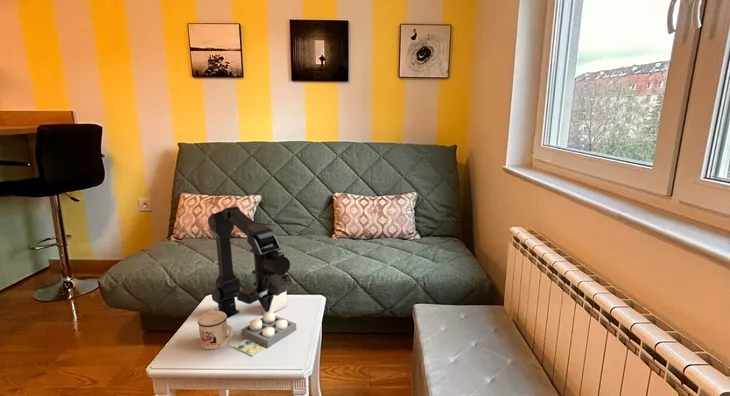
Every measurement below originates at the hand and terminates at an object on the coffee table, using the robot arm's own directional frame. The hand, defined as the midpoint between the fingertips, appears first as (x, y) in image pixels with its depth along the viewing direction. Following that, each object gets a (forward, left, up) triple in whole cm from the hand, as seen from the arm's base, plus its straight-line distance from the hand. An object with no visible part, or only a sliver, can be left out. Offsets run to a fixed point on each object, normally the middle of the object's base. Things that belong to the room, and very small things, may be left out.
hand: (267, 311), depth 134 cm
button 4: (0, +6, -9) cm, 11 cm away
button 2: (0, 0, -9) cm, 9 cm away
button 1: (-6, 0, -8) cm, 10 cm away
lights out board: (-3, 0, -10) cm, 10 cm away
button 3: (-6, +6, -8) cm, 11 cm away
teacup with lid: (-12, -11, -10) cm, 19 cm away
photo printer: (-14, +16, -10) cm, 23 cm away
